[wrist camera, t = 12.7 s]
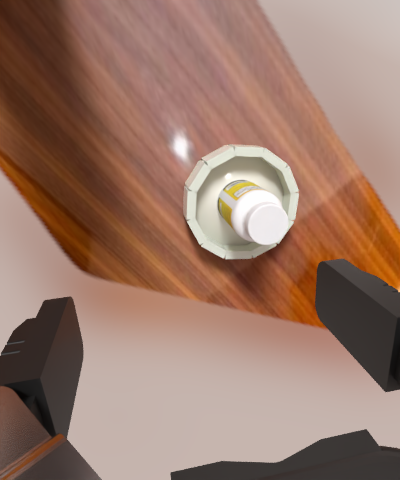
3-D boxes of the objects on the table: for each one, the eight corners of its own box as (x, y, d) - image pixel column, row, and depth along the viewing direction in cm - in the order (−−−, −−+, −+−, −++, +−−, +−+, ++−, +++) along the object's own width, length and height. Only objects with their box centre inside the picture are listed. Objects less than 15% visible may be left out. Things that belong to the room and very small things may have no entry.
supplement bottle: (245, 230, 43) (275, 261, 33) (208, 210, 41) (228, 237, 32) (268, 192, 41) (306, 213, 32) (231, 170, 40) (259, 186, 31)
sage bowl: (163, 178, 40) (166, 183, 37) (263, 124, 40) (273, 124, 37) (212, 267, 45) (217, 277, 42) (301, 219, 45) (312, 226, 42)
